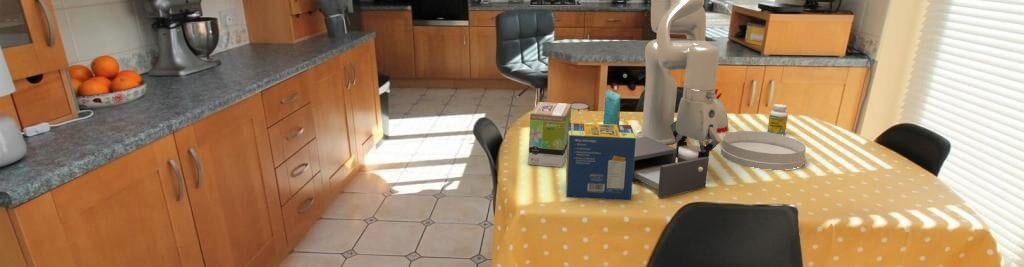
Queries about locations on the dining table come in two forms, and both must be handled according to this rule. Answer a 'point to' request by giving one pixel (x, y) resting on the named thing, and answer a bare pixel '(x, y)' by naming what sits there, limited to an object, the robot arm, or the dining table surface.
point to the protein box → (600, 161)
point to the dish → (763, 150)
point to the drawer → (675, 176)
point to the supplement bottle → (778, 120)
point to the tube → (612, 108)
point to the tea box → (549, 134)
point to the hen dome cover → (721, 115)
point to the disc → (688, 152)
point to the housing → (652, 154)
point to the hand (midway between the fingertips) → (691, 160)
